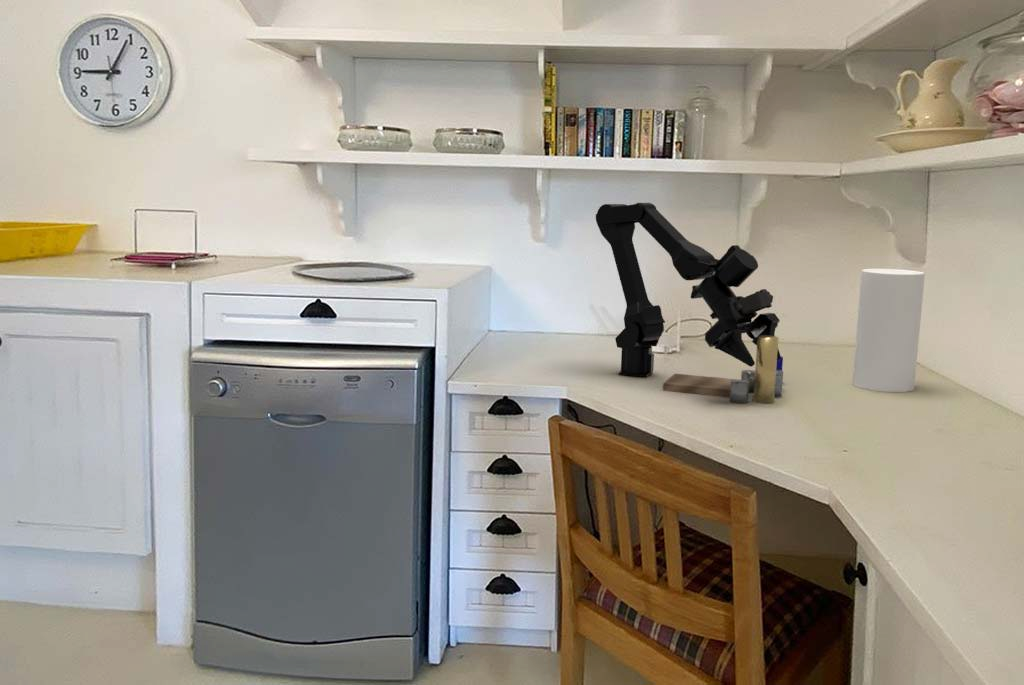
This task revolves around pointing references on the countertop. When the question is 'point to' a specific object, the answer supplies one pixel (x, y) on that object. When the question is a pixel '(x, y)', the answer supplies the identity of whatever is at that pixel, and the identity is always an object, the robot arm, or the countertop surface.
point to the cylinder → (888, 329)
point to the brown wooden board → (698, 385)
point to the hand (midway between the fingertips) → (766, 362)
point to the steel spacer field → (751, 386)
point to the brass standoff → (765, 369)
